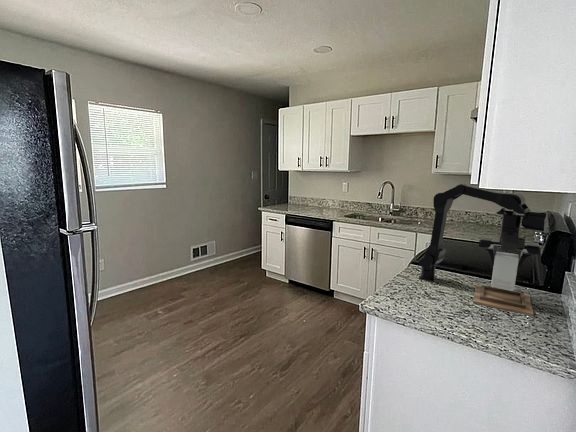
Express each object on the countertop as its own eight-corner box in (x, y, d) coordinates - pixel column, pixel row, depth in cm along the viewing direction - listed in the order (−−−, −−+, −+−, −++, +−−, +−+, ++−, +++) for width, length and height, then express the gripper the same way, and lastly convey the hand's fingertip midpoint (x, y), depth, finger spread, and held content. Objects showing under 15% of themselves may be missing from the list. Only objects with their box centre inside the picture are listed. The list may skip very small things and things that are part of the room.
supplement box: (514, 291, 115) (519, 258, 113) (490, 286, 119) (494, 254, 117) (514, 285, 120) (519, 254, 118) (492, 281, 125) (496, 250, 123)
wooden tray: (475, 286, 134) (476, 281, 133) (528, 296, 124) (529, 291, 124) (472, 302, 117) (473, 297, 117) (533, 315, 107) (533, 310, 107)
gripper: (480, 227, 114) (475, 268, 117) (545, 234, 104) (538, 278, 107) (481, 223, 124) (477, 261, 126) (541, 229, 113) (535, 270, 116)
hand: (505, 267), depth 119 cm, fingers closed on supplement box, 7 cm apart
